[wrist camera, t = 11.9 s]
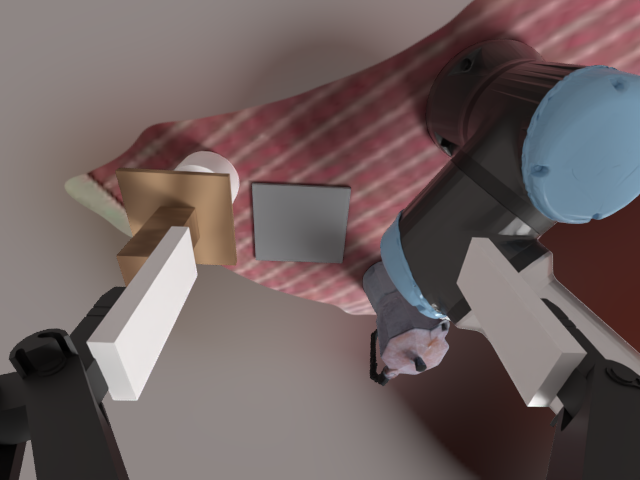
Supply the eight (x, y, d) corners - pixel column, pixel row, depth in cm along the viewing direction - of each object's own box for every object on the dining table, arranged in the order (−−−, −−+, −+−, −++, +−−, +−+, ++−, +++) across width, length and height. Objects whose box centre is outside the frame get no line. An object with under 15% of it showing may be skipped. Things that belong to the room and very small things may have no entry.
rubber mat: (350, 187, 51) (350, 188, 51) (342, 261, 59) (342, 263, 58) (252, 182, 50) (251, 184, 50) (256, 258, 58) (255, 260, 57)
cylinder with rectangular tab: (178, 201, 52) (146, 242, 42) (178, 145, 47) (141, 175, 37) (236, 211, 53) (218, 254, 43) (241, 157, 48) (223, 191, 38)
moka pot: (433, 262, 59) (482, 354, 42) (381, 316, 66) (405, 414, 49) (391, 238, 56) (425, 327, 39) (341, 297, 63) (351, 395, 46)
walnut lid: (229, 173, 37) (202, 220, 28) (237, 260, 43) (216, 322, 34) (119, 167, 37) (53, 213, 27) (143, 257, 43) (96, 319, 34)
